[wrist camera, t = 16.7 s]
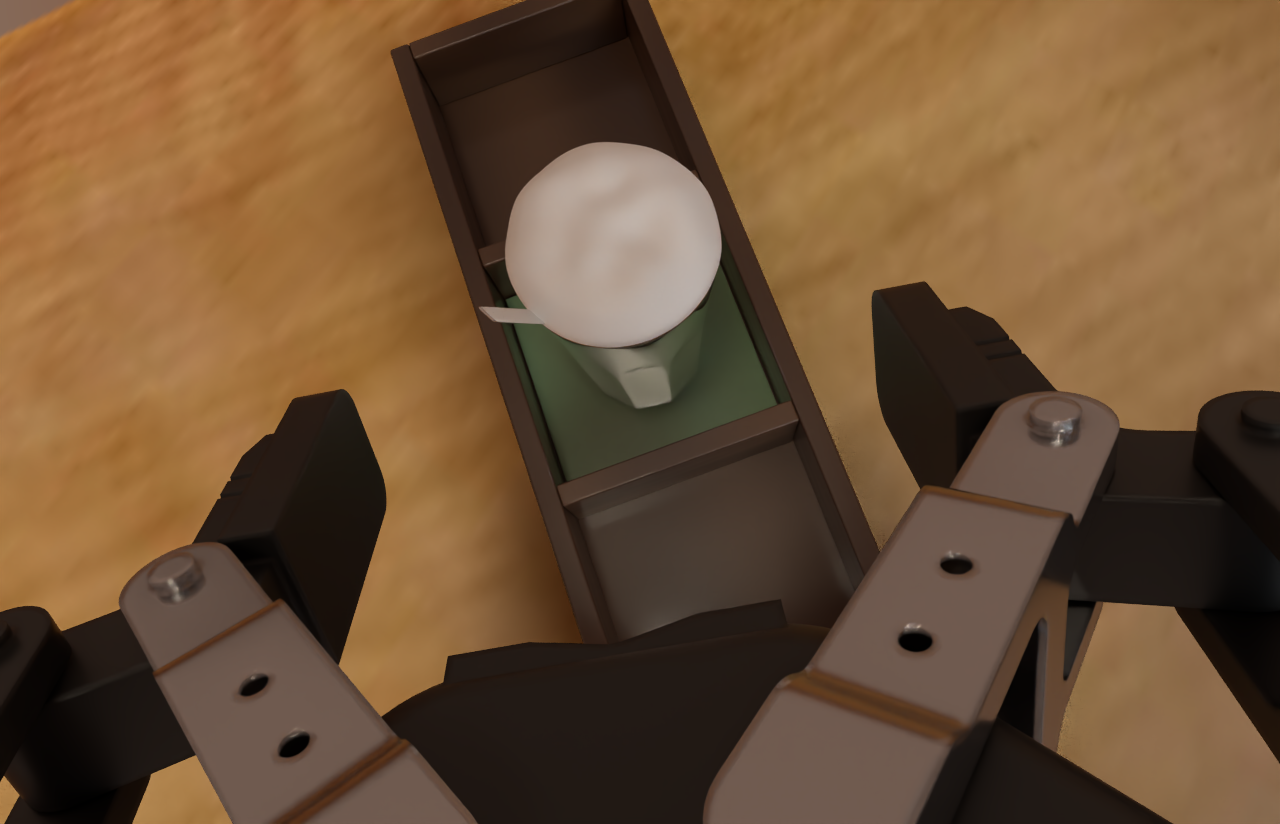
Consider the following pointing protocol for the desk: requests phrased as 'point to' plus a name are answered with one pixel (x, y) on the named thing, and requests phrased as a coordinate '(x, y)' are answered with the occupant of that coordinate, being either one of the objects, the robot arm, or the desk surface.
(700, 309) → the milkshake
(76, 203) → the desk surface
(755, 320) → the tray
